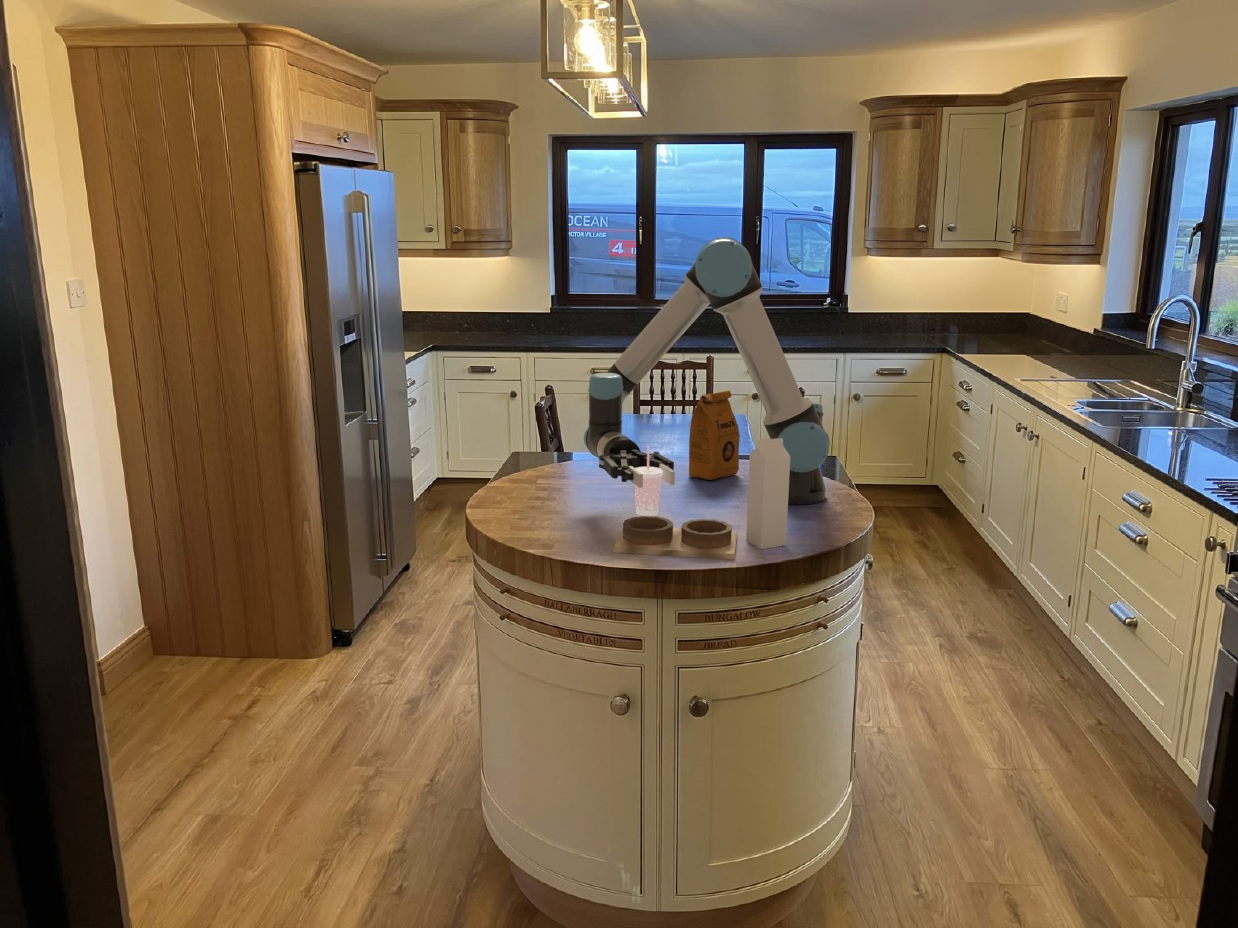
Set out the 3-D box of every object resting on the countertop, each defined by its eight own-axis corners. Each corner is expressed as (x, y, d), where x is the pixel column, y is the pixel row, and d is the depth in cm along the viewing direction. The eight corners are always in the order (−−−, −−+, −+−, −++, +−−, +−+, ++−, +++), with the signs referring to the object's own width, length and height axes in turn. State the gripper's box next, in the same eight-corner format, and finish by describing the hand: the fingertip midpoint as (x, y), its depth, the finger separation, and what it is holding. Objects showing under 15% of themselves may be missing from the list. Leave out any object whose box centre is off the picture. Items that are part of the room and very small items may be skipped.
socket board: (737, 536, 206) (737, 517, 204) (734, 559, 192) (734, 539, 191) (624, 530, 209) (624, 511, 208) (613, 552, 196) (613, 532, 195)
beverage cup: (658, 518, 196) (660, 450, 193) (628, 515, 198) (630, 448, 194) (664, 509, 202) (666, 443, 199) (635, 507, 204) (637, 441, 200)
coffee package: (744, 476, 253) (747, 392, 247) (710, 484, 245) (713, 397, 240) (716, 468, 260) (719, 386, 255) (683, 476, 252) (684, 392, 247)
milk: (786, 546, 200) (792, 441, 195) (760, 549, 198) (766, 443, 192) (770, 537, 206) (775, 434, 200) (745, 540, 203) (750, 437, 198)
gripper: (659, 466, 218) (700, 494, 197) (577, 472, 212) (611, 501, 191) (659, 433, 216) (702, 457, 195) (577, 438, 210) (611, 464, 189)
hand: (656, 479), depth 193 cm, fingers closed on beverage cup, 6 cm apart
